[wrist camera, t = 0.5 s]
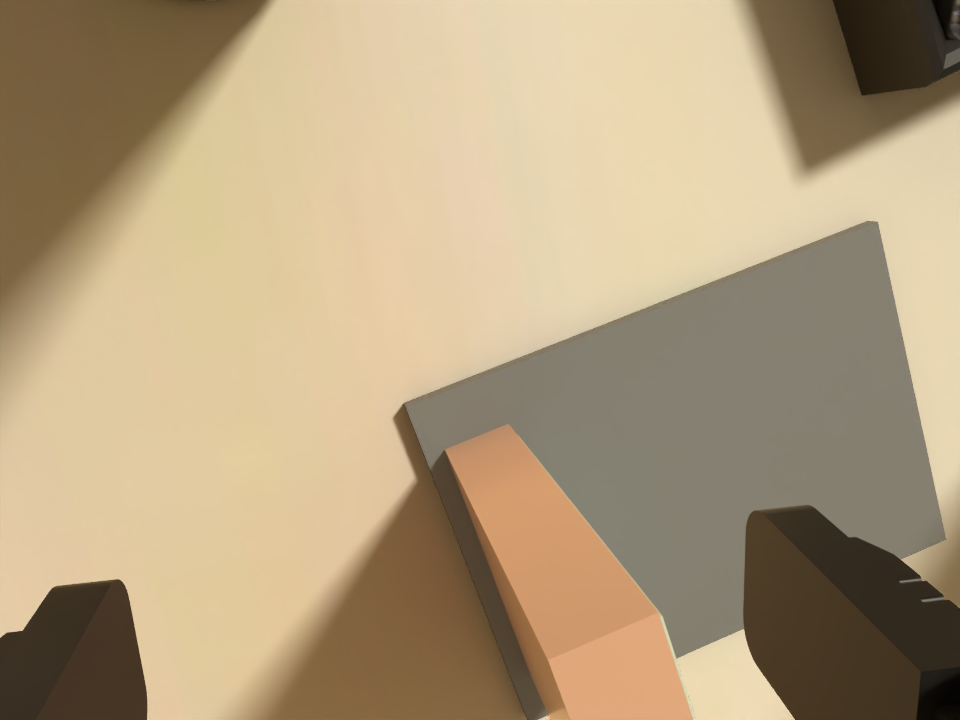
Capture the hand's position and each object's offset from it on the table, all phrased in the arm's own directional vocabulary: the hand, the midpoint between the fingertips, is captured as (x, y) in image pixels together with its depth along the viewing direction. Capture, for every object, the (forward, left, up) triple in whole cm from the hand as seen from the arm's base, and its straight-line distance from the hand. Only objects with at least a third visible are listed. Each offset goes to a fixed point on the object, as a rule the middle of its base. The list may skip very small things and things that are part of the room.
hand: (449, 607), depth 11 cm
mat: (+10, +10, -20) cm, 24 cm away
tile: (+10, +3, -19) cm, 22 cm away
